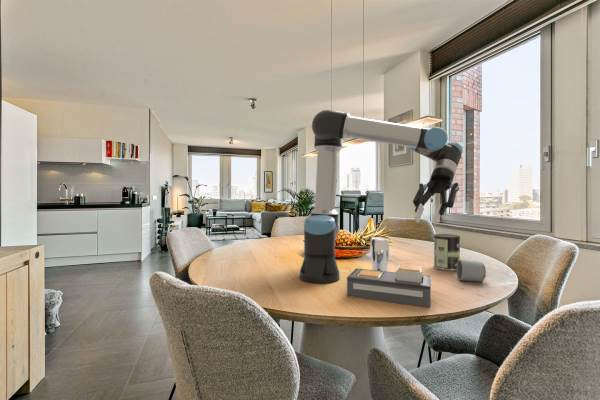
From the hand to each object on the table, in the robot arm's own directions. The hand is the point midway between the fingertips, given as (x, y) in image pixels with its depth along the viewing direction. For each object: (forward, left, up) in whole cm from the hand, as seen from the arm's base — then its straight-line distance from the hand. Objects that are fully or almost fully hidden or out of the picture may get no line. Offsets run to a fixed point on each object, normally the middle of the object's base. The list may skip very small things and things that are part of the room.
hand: (425, 220), depth 103 cm
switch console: (-10, -12, -23) cm, 28 cm away
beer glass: (-16, +7, -23) cm, 29 cm away
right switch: (-4, -12, -17) cm, 21 cm away
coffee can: (+8, +35, -23) cm, 43 cm away
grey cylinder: (+15, +19, -23) cm, 33 cm away
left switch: (-16, -12, -20) cm, 28 cm away
